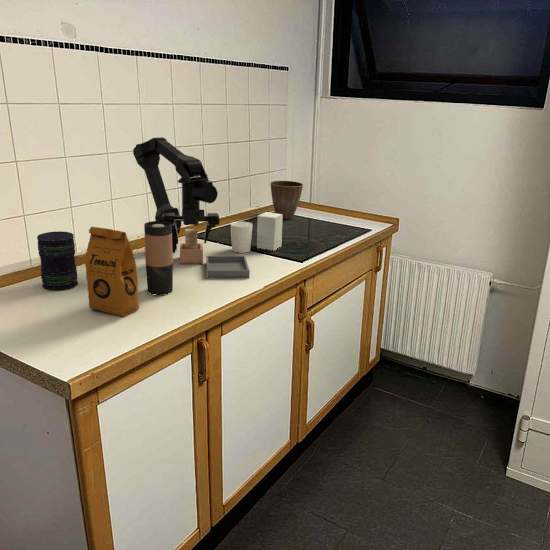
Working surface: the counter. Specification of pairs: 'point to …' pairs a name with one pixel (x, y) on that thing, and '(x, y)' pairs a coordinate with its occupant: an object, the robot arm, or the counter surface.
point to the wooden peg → (190, 238)
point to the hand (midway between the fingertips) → (191, 243)
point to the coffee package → (111, 272)
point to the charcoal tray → (227, 267)
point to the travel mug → (159, 257)
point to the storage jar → (57, 260)
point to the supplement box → (269, 231)
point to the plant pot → (286, 197)
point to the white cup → (241, 236)
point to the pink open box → (191, 254)
